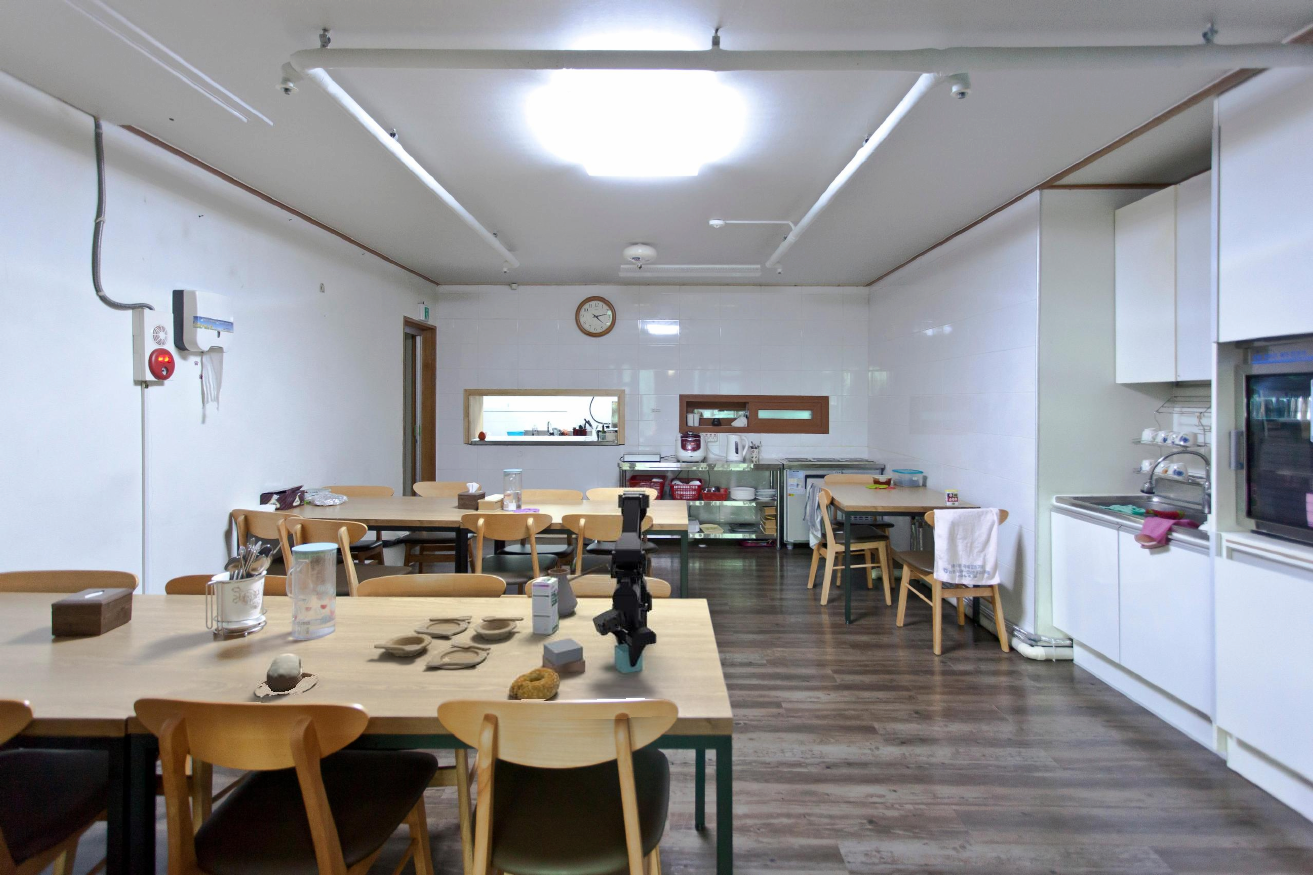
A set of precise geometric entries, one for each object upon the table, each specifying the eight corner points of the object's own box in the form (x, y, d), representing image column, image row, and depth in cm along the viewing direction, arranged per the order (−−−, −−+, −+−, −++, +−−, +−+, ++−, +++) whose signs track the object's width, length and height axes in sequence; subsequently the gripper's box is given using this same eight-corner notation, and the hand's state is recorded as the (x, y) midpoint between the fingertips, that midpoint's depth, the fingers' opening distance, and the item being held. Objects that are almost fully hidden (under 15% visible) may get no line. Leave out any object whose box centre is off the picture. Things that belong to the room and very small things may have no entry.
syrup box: (551, 634, 173) (551, 582, 173) (531, 633, 174) (531, 581, 174) (559, 628, 179) (558, 577, 178) (539, 626, 180) (539, 576, 179)
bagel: (516, 683, 142) (516, 662, 142) (564, 685, 142) (564, 664, 141) (502, 703, 133) (502, 681, 132) (553, 706, 132) (553, 684, 131)
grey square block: (570, 649, 155) (569, 637, 155) (582, 659, 149) (582, 646, 149) (543, 655, 151) (543, 643, 151) (555, 665, 146) (555, 653, 145)
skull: (259, 675, 144) (293, 639, 146) (297, 701, 146) (329, 665, 148) (240, 696, 132) (276, 656, 134) (281, 724, 134) (316, 685, 136)
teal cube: (633, 662, 154) (633, 642, 154) (642, 669, 150) (642, 648, 150) (614, 665, 152) (614, 645, 152) (623, 673, 147) (623, 652, 147)
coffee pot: (537, 618, 187) (537, 568, 186) (542, 606, 198) (542, 559, 198) (609, 617, 188) (609, 567, 187) (610, 605, 199) (610, 558, 199)
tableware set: (437, 619, 187) (437, 606, 187) (530, 626, 181) (529, 612, 181) (359, 666, 153) (358, 649, 153) (469, 676, 147) (469, 659, 147)
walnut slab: (573, 660, 156) (573, 648, 156) (585, 672, 149) (585, 660, 149) (542, 666, 152) (542, 654, 152) (552, 679, 145) (552, 666, 145)
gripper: (582, 592, 155) (582, 655, 155) (612, 614, 138) (612, 684, 139) (624, 587, 160) (624, 647, 160) (657, 607, 143) (657, 674, 144)
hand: (628, 662), depth 151 cm, fingers closed on teal cube, 5 cm apart
